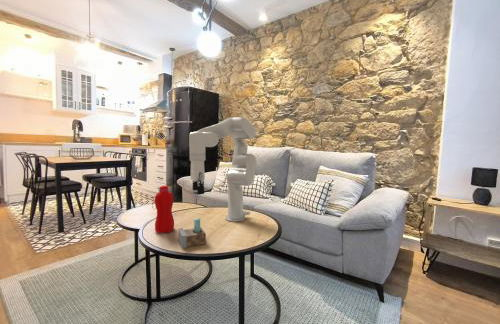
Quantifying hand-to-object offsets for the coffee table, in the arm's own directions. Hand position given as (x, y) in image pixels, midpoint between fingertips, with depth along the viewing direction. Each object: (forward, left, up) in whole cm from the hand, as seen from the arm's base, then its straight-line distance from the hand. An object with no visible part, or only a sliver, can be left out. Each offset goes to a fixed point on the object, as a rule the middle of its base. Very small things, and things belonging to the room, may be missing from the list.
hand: (198, 192), depth 115 cm
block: (+3, +2, -24) cm, 25 cm away
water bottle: (+15, -20, -25) cm, 35 cm away
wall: (+8, +2, -24) cm, 26 cm away
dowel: (+1, +2, -23) cm, 23 cm away
